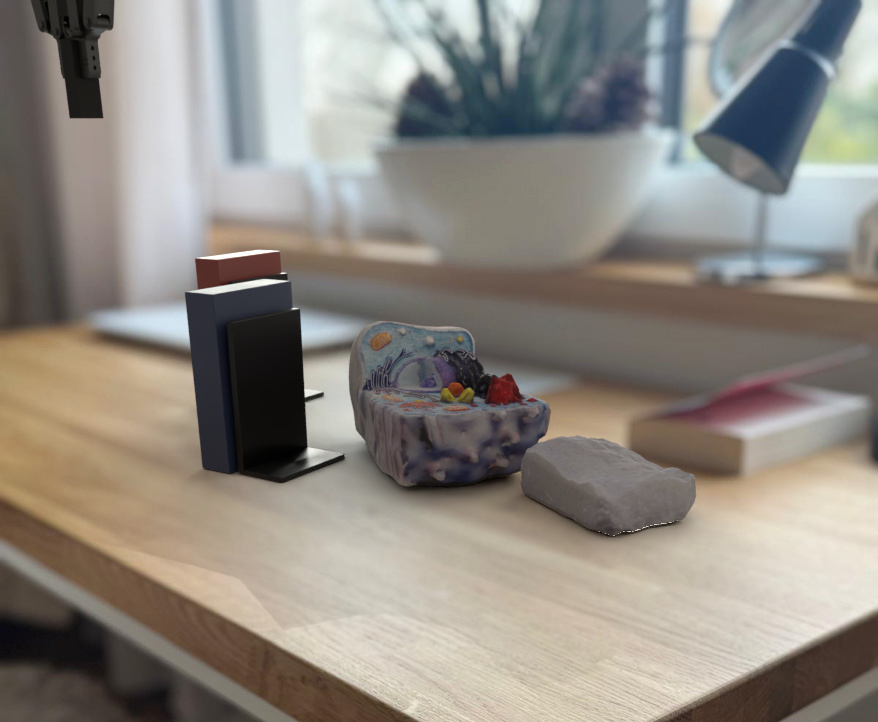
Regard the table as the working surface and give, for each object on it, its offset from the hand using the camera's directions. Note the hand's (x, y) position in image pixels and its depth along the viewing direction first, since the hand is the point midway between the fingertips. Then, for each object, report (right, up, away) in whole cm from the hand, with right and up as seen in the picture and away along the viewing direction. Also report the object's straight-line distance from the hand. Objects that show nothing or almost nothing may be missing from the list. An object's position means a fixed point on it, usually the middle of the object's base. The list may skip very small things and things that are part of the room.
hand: (86, 118), depth 101 cm
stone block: (+45, -38, -22) cm, 63 cm away
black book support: (+21, -34, -12) cm, 42 cm away
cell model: (+32, -34, -11) cm, 48 cm away
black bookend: (+17, -25, +9) cm, 31 cm away
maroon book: (+12, -17, +9) cm, 23 cm away
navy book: (+16, -26, -12) cm, 33 cm away
